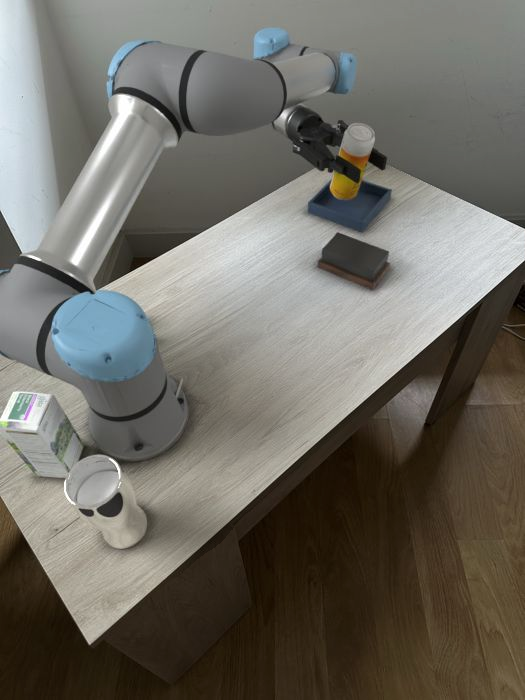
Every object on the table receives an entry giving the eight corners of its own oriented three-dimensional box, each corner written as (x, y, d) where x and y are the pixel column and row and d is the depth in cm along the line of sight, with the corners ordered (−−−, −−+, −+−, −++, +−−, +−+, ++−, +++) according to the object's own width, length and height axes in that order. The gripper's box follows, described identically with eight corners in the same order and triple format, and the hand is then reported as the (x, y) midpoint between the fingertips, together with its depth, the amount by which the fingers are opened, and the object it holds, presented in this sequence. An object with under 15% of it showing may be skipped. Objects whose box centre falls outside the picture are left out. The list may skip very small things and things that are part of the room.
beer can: (354, 205, 110) (374, 145, 98) (326, 198, 111) (343, 137, 98) (358, 186, 114) (378, 125, 101) (331, 179, 114) (347, 118, 101)
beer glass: (130, 492, 74) (100, 441, 62) (161, 525, 71) (135, 478, 59) (89, 527, 71) (50, 481, 60) (119, 563, 68) (84, 522, 56)
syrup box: (49, 442, 80) (10, 389, 68) (86, 445, 79) (53, 392, 68) (36, 476, 76) (-9, 427, 65) (74, 480, 76) (36, 430, 64)
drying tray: (307, 212, 113) (308, 202, 111) (337, 182, 119) (338, 171, 117) (362, 232, 108) (363, 222, 106) (390, 199, 114) (392, 189, 112)
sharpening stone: (317, 267, 102) (318, 249, 98) (334, 247, 105) (336, 229, 102) (372, 290, 97) (375, 272, 94) (389, 268, 101) (392, 250, 97)
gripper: (331, 125, 120) (403, 169, 108) (264, 155, 114) (333, 205, 102) (333, 93, 114) (410, 135, 102) (262, 121, 108) (336, 171, 96)
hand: (371, 170), depth 102 cm, fingers closed on beer can, 6 cm apart
